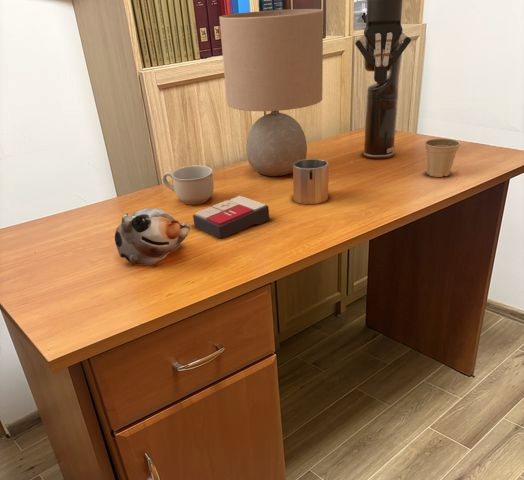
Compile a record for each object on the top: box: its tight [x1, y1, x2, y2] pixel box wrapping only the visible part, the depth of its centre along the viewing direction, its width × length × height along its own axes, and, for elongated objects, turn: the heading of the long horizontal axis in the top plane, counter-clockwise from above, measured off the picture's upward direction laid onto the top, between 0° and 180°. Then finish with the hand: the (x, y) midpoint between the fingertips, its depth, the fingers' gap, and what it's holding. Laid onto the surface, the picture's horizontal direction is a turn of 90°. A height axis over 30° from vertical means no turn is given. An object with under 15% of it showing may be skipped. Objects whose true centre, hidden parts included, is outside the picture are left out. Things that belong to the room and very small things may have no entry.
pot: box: [292, 158, 330, 205], centre depth 139 cm, size 9×12×9 cm
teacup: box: [161, 164, 215, 206], centre depth 144 cm, size 14×11×8 cm
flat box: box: [192, 195, 270, 239], centre depth 129 cm, size 11×4×15 cm
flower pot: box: [424, 138, 461, 178], centre depth 150 cm, size 9×9×9 cm
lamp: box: [219, 8, 324, 177], centre depth 151 cm, size 27×27×41 cm
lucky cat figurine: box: [114, 207, 191, 266], centre depth 113 cm, size 15×12×14 cm
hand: (379, 83), depth 127 cm, fingers closed
